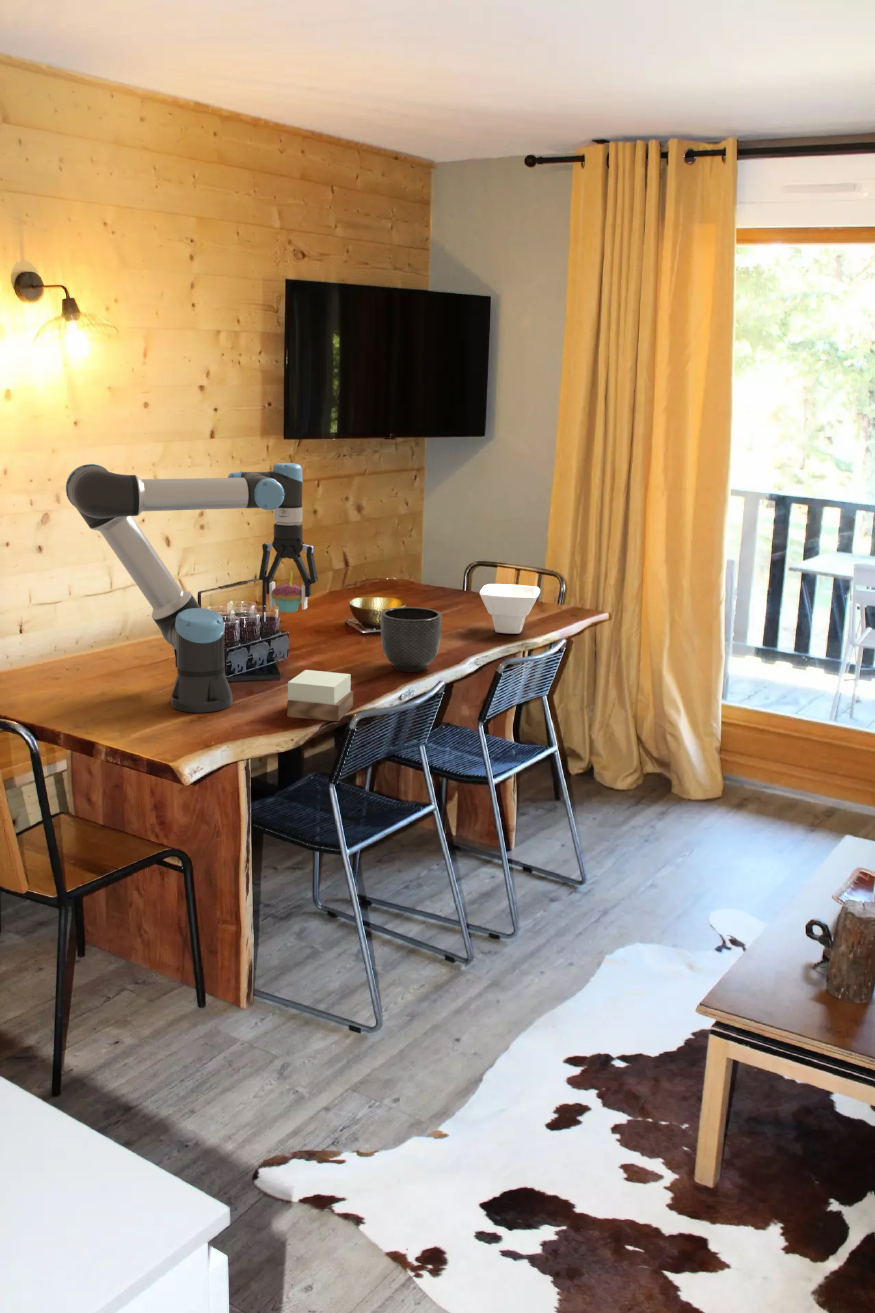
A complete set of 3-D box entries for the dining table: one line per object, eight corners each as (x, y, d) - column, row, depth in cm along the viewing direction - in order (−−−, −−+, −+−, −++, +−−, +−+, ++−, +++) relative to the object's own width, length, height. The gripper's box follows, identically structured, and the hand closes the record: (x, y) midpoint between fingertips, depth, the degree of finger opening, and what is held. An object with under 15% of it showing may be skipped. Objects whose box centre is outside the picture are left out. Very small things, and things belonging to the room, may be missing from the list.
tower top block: (287, 699, 284) (287, 682, 282) (305, 686, 295) (305, 669, 294) (334, 704, 281) (334, 687, 280) (350, 691, 292) (350, 674, 291)
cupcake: (310, 611, 310) (310, 566, 307) (285, 615, 304) (285, 570, 301) (289, 605, 316) (289, 562, 313) (265, 610, 310) (264, 565, 306)
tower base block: (287, 718, 284) (287, 701, 283) (303, 703, 296) (303, 686, 295) (338, 723, 282) (338, 705, 280) (352, 707, 294) (353, 690, 293)
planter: (406, 680, 318) (407, 623, 314) (367, 666, 330) (368, 611, 326) (453, 670, 329) (454, 615, 325) (414, 657, 341) (415, 604, 337)
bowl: (475, 637, 366) (477, 594, 363) (483, 624, 385) (485, 582, 381) (534, 641, 363) (536, 598, 360) (539, 627, 382) (541, 586, 378)
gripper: (244, 522, 302) (246, 607, 308) (322, 527, 298) (322, 613, 304) (254, 518, 309) (255, 602, 315) (330, 523, 305) (330, 607, 311)
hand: (288, 607), depth 309 cm, fingers closed on cupcake, 8 cm apart
